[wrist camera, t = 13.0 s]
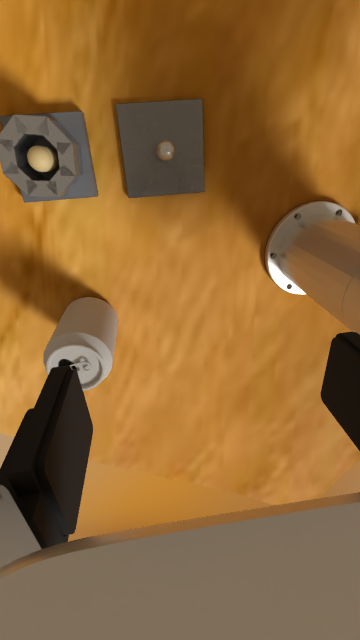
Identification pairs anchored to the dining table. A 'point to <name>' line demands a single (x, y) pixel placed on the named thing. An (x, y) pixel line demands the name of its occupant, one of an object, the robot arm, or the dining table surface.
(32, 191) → the collar
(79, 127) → the square base with peg
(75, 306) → the can
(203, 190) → the stand
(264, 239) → the dining table surface
